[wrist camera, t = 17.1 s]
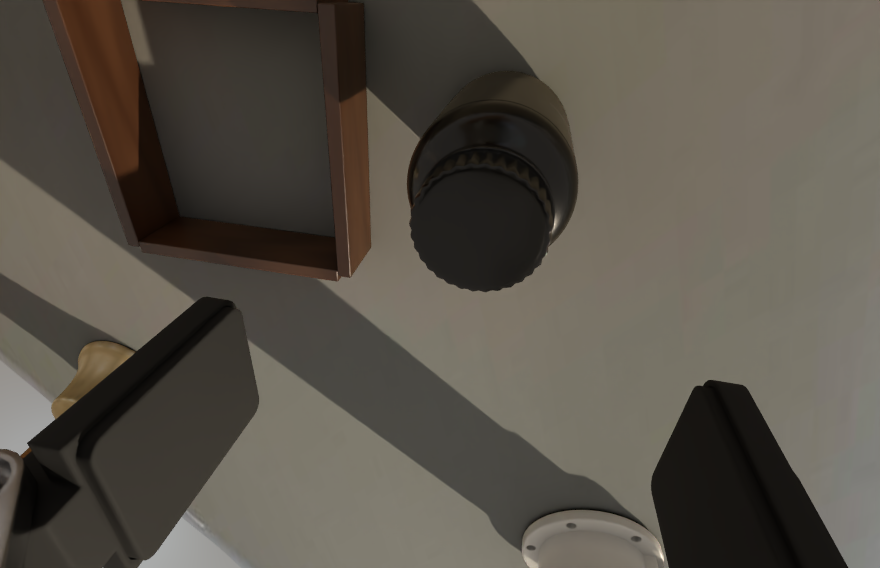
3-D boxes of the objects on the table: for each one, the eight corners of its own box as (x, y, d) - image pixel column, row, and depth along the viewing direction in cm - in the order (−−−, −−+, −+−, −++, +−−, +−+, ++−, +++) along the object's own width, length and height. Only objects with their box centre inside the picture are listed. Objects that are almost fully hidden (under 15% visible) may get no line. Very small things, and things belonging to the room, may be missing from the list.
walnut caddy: (364, -7, 23) (333, -8, 19) (371, 252, 30) (351, 284, 27) (101, -25, 24) (32, -28, 21) (172, 225, 32) (130, 251, 29)
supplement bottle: (436, 74, 24) (362, 129, 14) (571, 63, 22) (597, 114, 12) (448, 199, 27) (395, 313, 17) (565, 195, 26) (582, 318, 16)
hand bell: (99, 325, 39) (-127, 492, 26) (181, 383, 41) (11, 565, 28) (70, 367, 43) (-139, 531, 30) (145, 419, 45) (-18, 592, 32)
